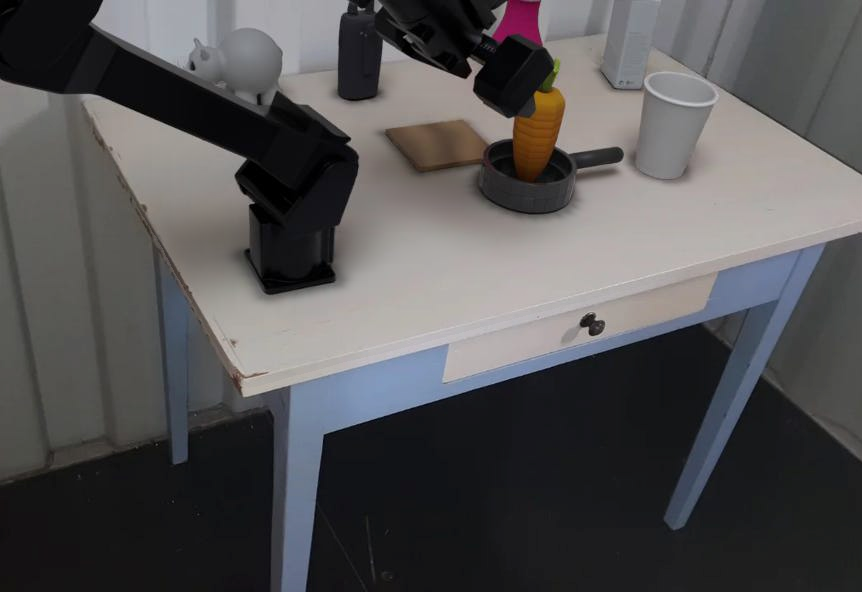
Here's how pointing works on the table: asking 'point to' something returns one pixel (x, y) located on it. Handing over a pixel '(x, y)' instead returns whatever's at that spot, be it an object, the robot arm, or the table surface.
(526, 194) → the pan
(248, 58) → the toy rhinoceros
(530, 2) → the pepper mill
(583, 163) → the pan handle
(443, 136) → the wooden board
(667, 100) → the dixie cup
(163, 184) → the table surface
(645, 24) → the cosmetic box
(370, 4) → the two-way radio
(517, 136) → the carrot
